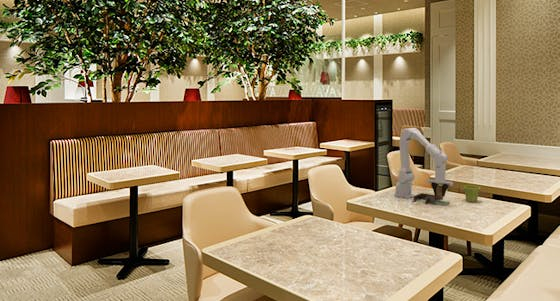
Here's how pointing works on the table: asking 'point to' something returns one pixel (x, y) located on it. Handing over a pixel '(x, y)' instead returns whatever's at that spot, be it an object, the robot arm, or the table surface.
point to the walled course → (428, 198)
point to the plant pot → (471, 193)
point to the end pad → (441, 202)
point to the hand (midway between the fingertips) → (439, 195)
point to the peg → (439, 192)
